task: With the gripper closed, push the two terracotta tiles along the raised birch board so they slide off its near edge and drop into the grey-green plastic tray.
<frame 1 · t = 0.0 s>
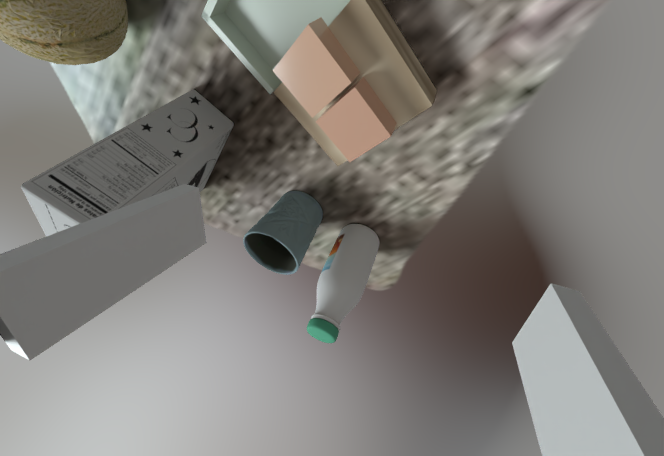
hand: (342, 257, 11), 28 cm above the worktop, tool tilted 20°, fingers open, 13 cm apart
tile 2: (321, 66, 29), point 4 cm above the worktop, touching board
cereal box: (200, 146, 51), on the worktop
tile 1: (360, 116, 32), point 4 cm above the worktop, touching board
milk bottle: (360, 236, 53), on the worktop
board: (356, 85, 33), on the worktop
grey-blue hollow tapered cylinder: (301, 207, 53), on the worktop
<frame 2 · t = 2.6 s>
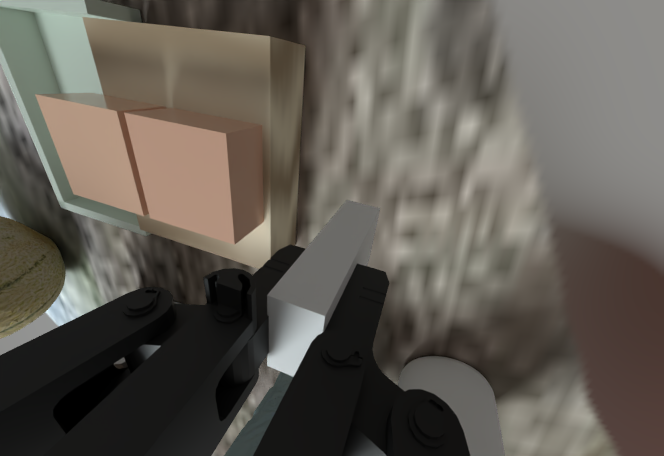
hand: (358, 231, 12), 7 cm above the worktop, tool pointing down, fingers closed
tray: (113, 122, 24), on the worktop
tile 2: (138, 147, 19), point 4 cm above the worktop, touching board
tile 1: (220, 167, 17), point 4 cm above the worktop, touching board
milk bottle: (444, 382, 25), on the worktop
board: (227, 147, 21), on the worktop
grey-blue hollow tapered cylinder: (323, 375, 30), on the worktop
cantaloupe: (52, 246, 38), on the worktop
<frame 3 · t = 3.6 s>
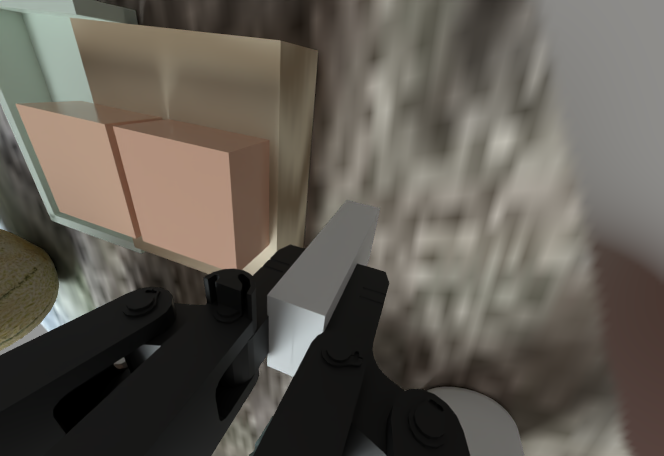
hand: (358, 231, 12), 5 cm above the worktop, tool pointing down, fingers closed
tray: (108, 130, 22), on the worktop
tile 2: (132, 161, 17), point 4 cm above the worktop, touching board
tile 1: (221, 185, 15), point 4 cm above the worktop, touching board
milk bottle: (461, 413, 23), on the worktop
board: (230, 159, 19), on the worktop
cantaloupe: (46, 256, 36), on the worktop
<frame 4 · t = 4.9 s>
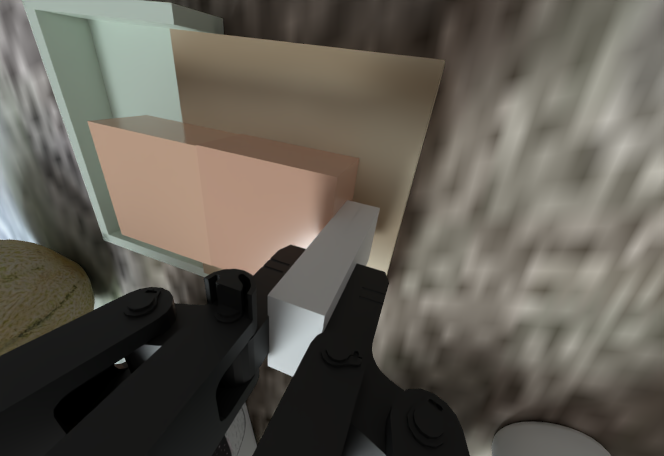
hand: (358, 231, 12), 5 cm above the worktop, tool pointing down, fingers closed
tray: (171, 145, 21), on the worktop
tile 2: (198, 179, 16), point 4 cm above the worktop, touching board, tile 1
cereal box: (222, 390, 36), on the worktop
tile 1: (294, 204, 14), point 4 cm above the worktop, touching board, gripper, tile 2
milk bottle: (546, 448, 21), on the worktop
board: (313, 180, 18), on the worktop
cantaloupe: (79, 271, 34), on the worktop
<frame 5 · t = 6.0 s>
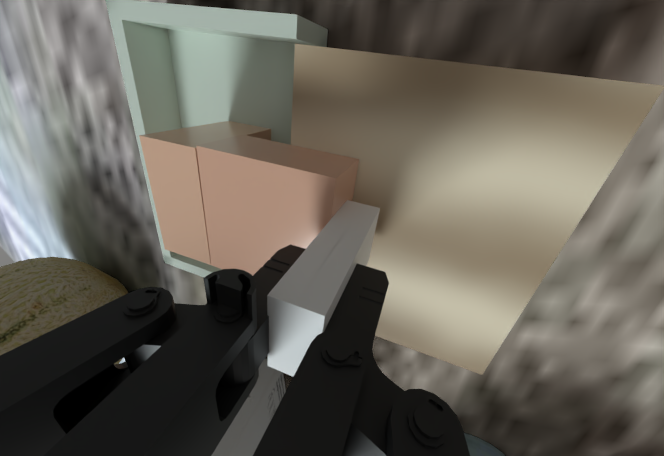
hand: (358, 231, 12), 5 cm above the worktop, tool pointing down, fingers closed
tray: (243, 163, 19), on the worktop
tile 2: (242, 192, 15), point 4 cm above the worktop, tilted 90°, touching tray
cereal box: (265, 411, 34), on the worktop
tile 1: (294, 204, 14), point 4 cm above the worktop, touching gripper
board: (411, 204, 16), on the worktop
cantaloupe: (117, 286, 33), on the worktop
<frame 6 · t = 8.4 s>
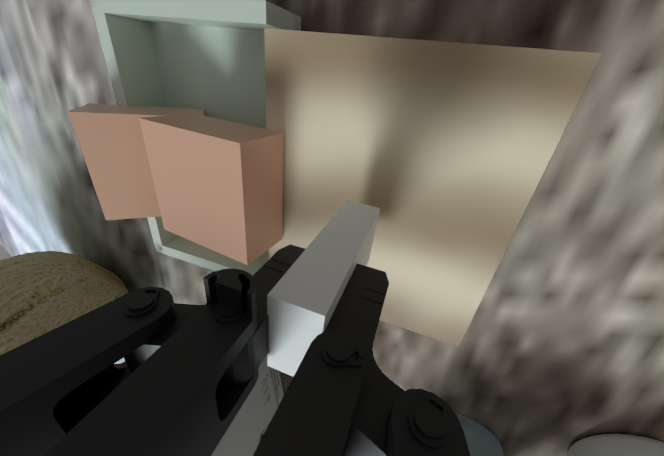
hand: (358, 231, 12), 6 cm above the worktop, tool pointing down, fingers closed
tray: (229, 152, 20), on the worktop
tile 2: (153, 170, 16), point 5 cm above the worktop, tilted 140°, touching tile 1, tray
cereal box: (262, 400, 35), on the worktop
tile 1: (239, 177, 16), point 4 cm above the worktop, tilted 7°, touching board, tile 2
board: (388, 185, 17), on the worktop
grey-blue hollow tapered cylinder: (446, 437, 26), on the worktop
cantaloupe: (115, 280, 34), on the worktop
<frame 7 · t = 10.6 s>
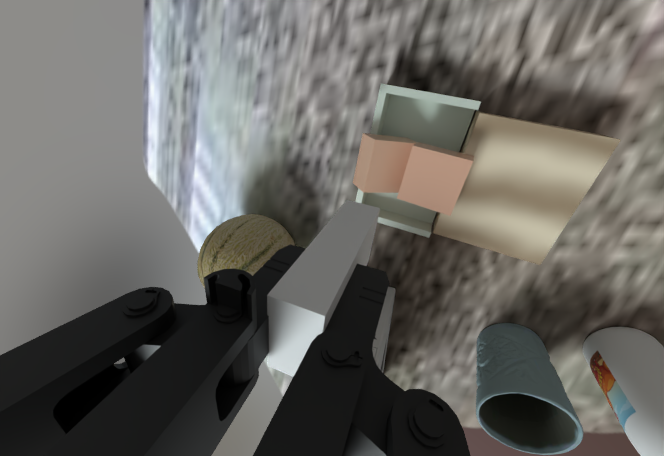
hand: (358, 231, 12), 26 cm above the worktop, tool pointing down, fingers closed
tray: (408, 160, 36), on the worktop
tile 2: (391, 168, 32), point 5 cm above the worktop, tilted 140°, touching tile 1, tray
cereal box: (368, 329, 50), on the worktop
tile 1: (435, 175, 32), point 4 cm above the worktop, tilted 7°, touching board, tile 2
milk bottle: (617, 346, 36), on the worktop
board: (505, 183, 33), on the worktop
grey-blue hollow tapered cylinder: (506, 343, 42), on the worktop
cantaloupe: (274, 240, 49), on the worktop
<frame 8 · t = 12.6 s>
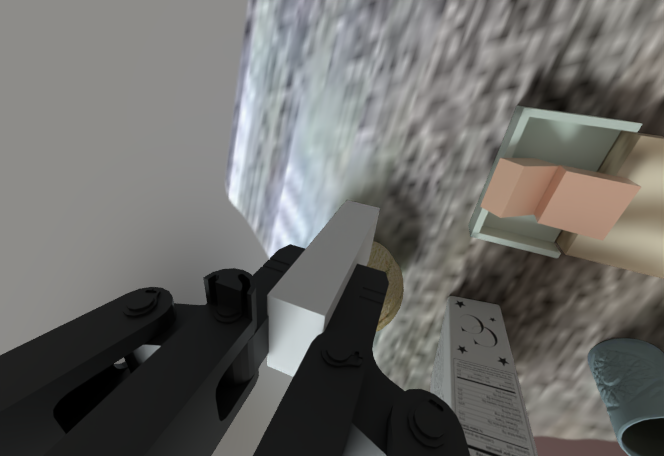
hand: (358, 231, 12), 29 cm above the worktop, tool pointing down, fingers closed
tray: (532, 180, 35), on the worktop
tile 2: (530, 192, 31), point 5 cm above the worktop, tilted 140°, touching tile 1, tray
cereal box: (461, 345, 50), on the worktop
tile 1: (577, 197, 31), point 4 cm above the worktop, tilted 7°, touching board, tile 2
board: (643, 201, 32), on the worktop
grey-blue hollow tapered cylinder: (621, 358, 41), on the worktop
cantaloupe: (365, 259, 49), on the worktop
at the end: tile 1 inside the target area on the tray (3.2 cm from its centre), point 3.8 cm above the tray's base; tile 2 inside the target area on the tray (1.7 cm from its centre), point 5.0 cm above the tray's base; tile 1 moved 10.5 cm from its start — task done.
